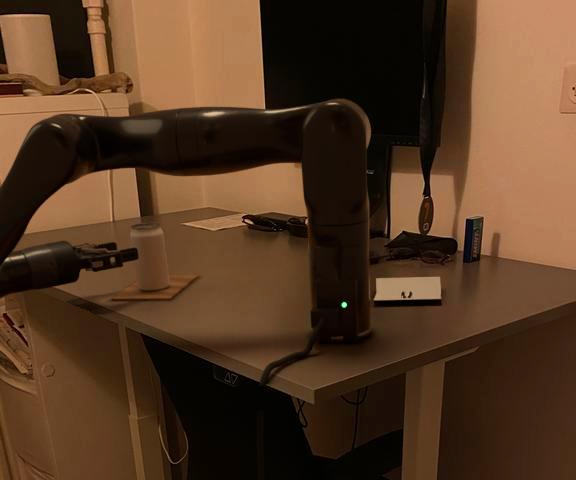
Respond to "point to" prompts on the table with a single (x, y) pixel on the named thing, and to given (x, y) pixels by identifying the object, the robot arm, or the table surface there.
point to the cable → (395, 254)
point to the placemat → (166, 294)
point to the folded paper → (408, 288)
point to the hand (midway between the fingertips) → (126, 250)
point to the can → (150, 257)
